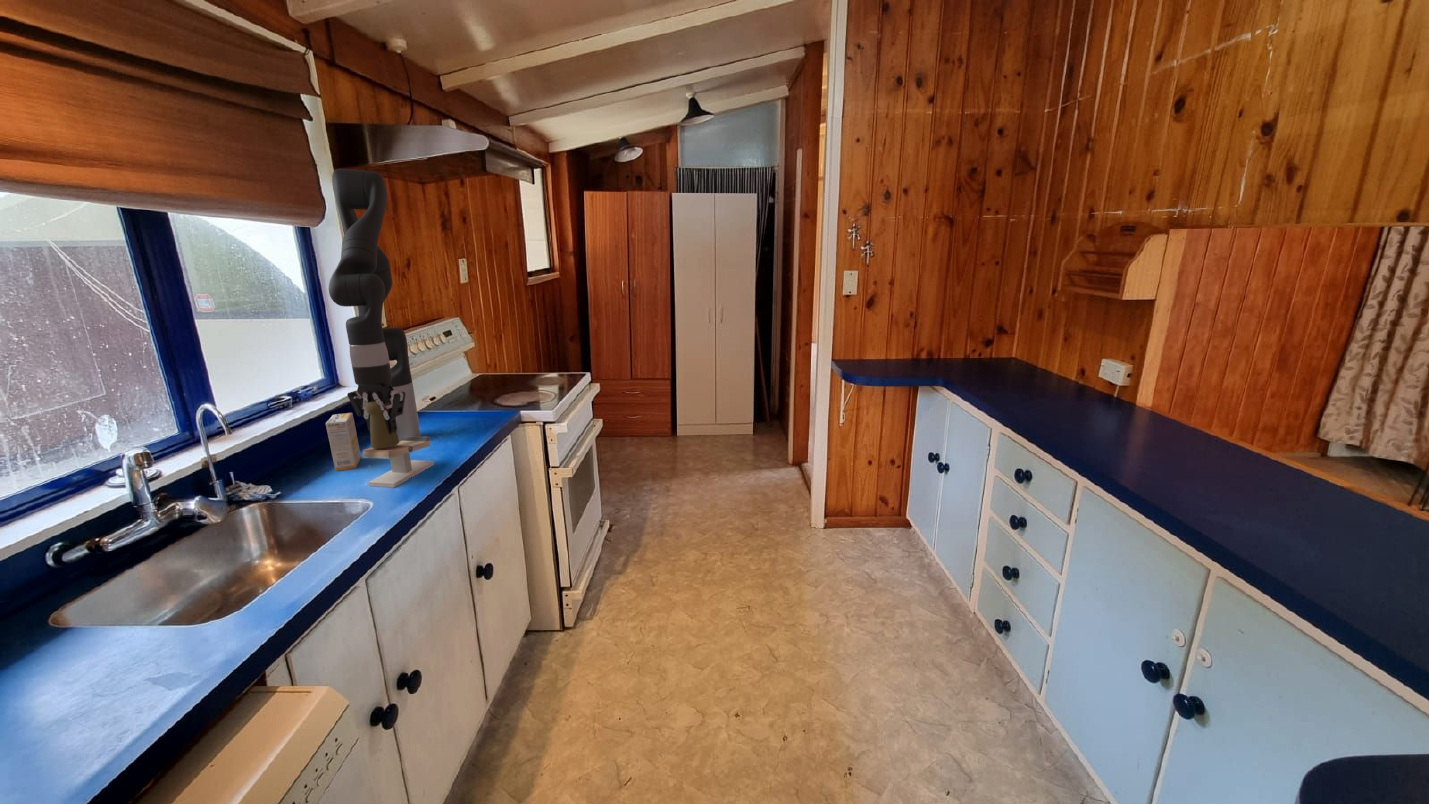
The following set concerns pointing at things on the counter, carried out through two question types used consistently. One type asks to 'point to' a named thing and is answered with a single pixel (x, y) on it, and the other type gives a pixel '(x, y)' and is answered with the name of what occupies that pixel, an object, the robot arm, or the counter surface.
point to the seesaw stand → (400, 471)
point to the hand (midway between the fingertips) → (383, 432)
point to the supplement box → (343, 441)
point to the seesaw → (398, 447)
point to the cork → (380, 427)
